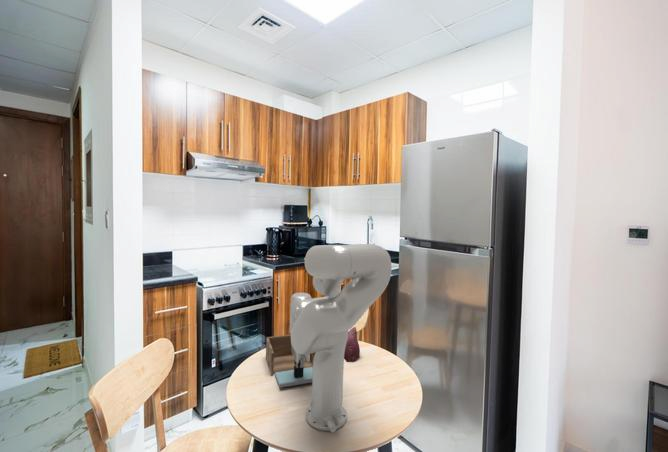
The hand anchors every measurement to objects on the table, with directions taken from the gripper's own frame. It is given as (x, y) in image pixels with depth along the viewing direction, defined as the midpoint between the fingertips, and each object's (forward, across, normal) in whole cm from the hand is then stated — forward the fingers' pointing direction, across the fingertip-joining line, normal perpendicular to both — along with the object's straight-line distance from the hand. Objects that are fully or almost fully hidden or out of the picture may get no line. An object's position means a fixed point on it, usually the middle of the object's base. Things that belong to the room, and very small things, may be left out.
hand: (298, 376), depth 111 cm
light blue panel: (+2, +6, 0) cm, 7 cm away
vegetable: (+4, +15, -26) cm, 30 cm away
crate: (+3, +14, 0) cm, 14 cm away
